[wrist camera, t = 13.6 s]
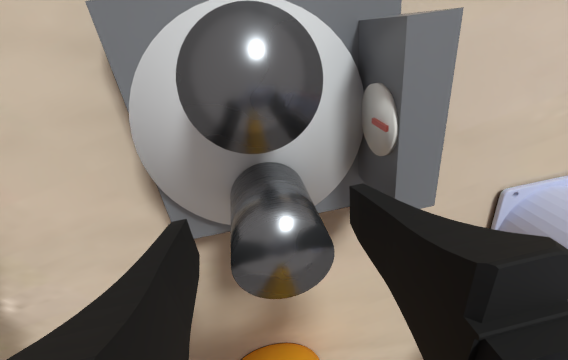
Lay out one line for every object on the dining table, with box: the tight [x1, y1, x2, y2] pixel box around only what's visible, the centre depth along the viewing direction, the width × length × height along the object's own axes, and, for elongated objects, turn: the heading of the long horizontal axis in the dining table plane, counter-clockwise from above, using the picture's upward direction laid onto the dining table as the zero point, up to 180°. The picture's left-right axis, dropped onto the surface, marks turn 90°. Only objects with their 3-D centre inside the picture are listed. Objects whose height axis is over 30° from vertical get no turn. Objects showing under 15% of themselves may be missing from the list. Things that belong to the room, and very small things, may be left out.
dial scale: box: [85, 0, 464, 239], centre depth 14 cm, size 13×12×6 cm
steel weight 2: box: [230, 162, 334, 299], centre depth 13 cm, size 4×4×5 cm
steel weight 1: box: [176, 0, 323, 154], centre depth 10 cm, size 4×4×5 cm
